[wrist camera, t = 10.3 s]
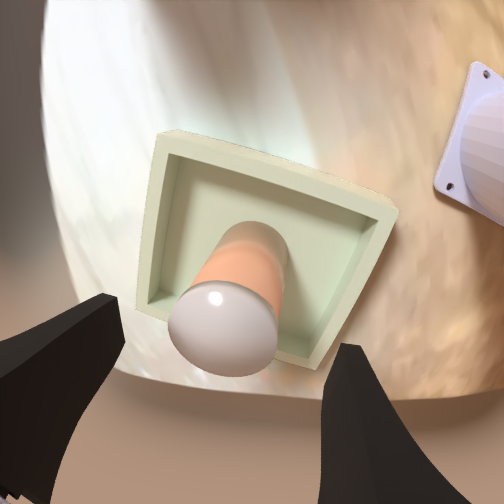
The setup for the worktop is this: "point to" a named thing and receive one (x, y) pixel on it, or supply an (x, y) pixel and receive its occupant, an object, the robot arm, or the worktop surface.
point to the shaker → (234, 303)
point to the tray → (271, 213)
